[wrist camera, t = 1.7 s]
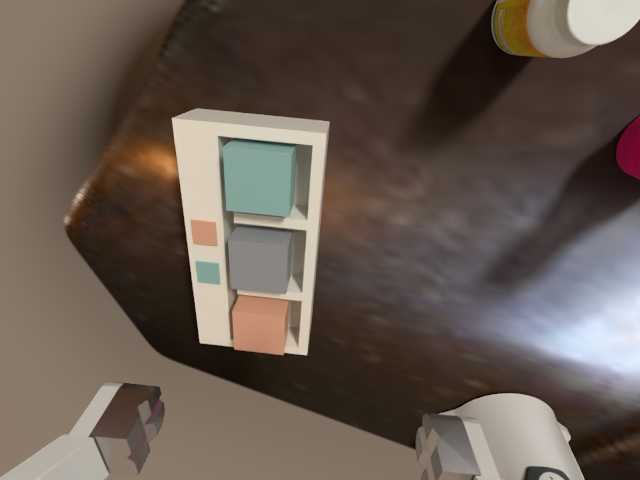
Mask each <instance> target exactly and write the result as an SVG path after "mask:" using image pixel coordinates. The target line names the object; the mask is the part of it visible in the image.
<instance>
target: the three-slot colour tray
mask: <svg viewBox="0 0 640 480" xmlns="http://www.w3.org/2000/svg"><path fill="white" fill-rule="evenodd" d="M172 123H173V131H174V139H175V147H176V155H177V163H178V171H179V179H180V187H181V196H182V204H183V212H184V220H185V228H186V236H187V244H188V252H189V260H190V268H191V276H192V284H193V292H194V300H195V308H196V316H197V324H198V332H199V340H200V343H204V344H213V345H222V346H230V347H234V336H233V319H232V310H233V308H234V306H235V304H236V301H237V299H238V297H239V295H240V294H242V295H251V296H260V297H269V298H278V299H287V300H289V320H288V336H287V341H286V345H285V350H284V353H292V354H300V355H307V351H308V344H309V337H310V329H311V321H312V310H313V299H314V288H315V277H316V266H317V255H318V244H319V233H320V223H321V212H322V201H323V190H324V179H325V168H326V157H327V146H328V135H329V124H330V122H329V121H319V120H309V119H299V118H289V117H279V116H268V115H258V114H248V113H238V112H228V111H218V110H207V109H194V110H192V111H189V112H186V113H184V114H181V115H179V116H176V117H174V118H172ZM234 138H238V139H248V140H258V141H268V142H278V143H288V144H297V153H296V174H295V195H294V205H293V207H292V210H291V213H290V216H289V217H283V216H274V215H264V214H255V213H245V212H236V211H226V197H225V179H224V162H223V147H224V146H225V145H226V144H227V143H229V142H230V141H231V140H233V139H234ZM237 225H246V226H255V227H265V228H274V229H284V230H293V237H292V258H291V276H290V280H289V284H288V288H287V292H286V294H277V293H268V292H259V291H249V290H240V289H231V284H230V267H229V249H228V239H229V238H230V236H231V235H232V233H233V231H234V230H235V228H236V227H237Z"/></svg>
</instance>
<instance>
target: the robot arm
mask: <svg viewBox="0 0 640 480" xmlns="http://www.w3.org/2000/svg"><path fill="white" fill-rule="evenodd" d="M160 395H161V391H160V388H159V387H156V386H146V385H137V384H128V383H121V382H109V381H108V382H106V383H105V384H104V385H103V386H102V387H101V388H100V390H99V391H98V393H97V394H96V395H95V397H94V399H93V400H92V401H91V403H90V404H89V406H88V407H87V409H86V410H85V411H84V413H83V414H82V416H81V417H80V419H79V420H78V422H77V423H76V425H75V426H74V428H73V429H72V430H71V432H70V433H69V435H64V434H63V435H62V436H60V437H59V438H57V439H56V440H55V441H53V442H52V443H50V444H49V445H47V446H46V447H44V448H43V449H41V450H40V451H38V452H37V453H35V454H34V455H33V456H31V457H30V458H28V459H27V460H25V461H24V462H22V463H21V464H20V465H18V466H16V467H15V468H14V469H12V470H11V471H9V472H8V473H6V474H5V475H3V476H2V477H0V480H104V479H105V478H106V477H107V476H108V475H109V473H119V474H133V475H139V473H140V471H141V469H142V467H143V465H144V463H145V461H146V458H147V456H148V454H149V452H150V449H149V443H148V442H150V441H151V440H152V439H153V438H154V437H156V436H157V434H158V432H159V430H160V428H161V425H162V422H163V418H164V409H165V408H164V403H163V402H162V401H161V400H160V399H159V397H160ZM422 422H423V426H422V427H420V428H419V429H418V432H417V435H416V454H417V459H418V462H419V464H420V465H421V466H422V467H423V468H424V472H423V475H422V477H421V480H584V478H583V475H582V473H581V471H580V469H579V466H578V464H577V462H576V460H575V458H574V455H573V453H572V451H571V449H570V447H569V444H568V442H569V440H570V439H571V437H570V434H569V432H568V430H567V429H566V428H565V427H564V426H563V425H561V424H560V423H558V422H557V420H556V418H555V415H554V412H553V411H552V409H551V408H550V407H549V406H548V405H547V404H546V403H544V402H543V401H541V400H539V399H537V398H534V397H531V396H527V395H523V394H514V393H503V394H493V395H488V396H484V397H480V398H477V399H475V400H472V401H470V402H468V403H466V404H464V405H462V406H461V407H459V408H457V409H455V410H451V411H447V412H443V413H440V414H428V413H427V414H425V415H424V417H423V419H422Z"/></svg>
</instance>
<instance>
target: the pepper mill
mask: <svg viewBox="0 0 640 480" xmlns="http://www.w3.org/2000/svg"><path fill="white" fill-rule="evenodd" d="M616 159H617V162H618V165H619V167H620V168H621V169H622V170H623V171H624V172H625V173H627V174H629V175H631V176H633V177H635V178H638V179H640V116H638V117H637V118H636V119H635V120H634V121H633V122H632V123H631V124H630V125H629V126H628V127H627V128H626V130H625V131H624V133H623V134H622V135H621V138H620V140H619V142H618V145H617V151H616Z"/></svg>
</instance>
